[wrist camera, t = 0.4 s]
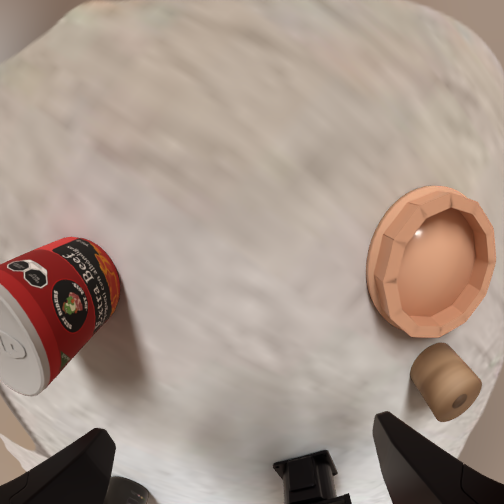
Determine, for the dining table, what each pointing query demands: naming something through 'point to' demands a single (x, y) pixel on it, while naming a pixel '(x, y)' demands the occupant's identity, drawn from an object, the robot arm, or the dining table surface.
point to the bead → (445, 381)
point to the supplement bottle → (125, 492)
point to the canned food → (52, 309)
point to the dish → (430, 261)
